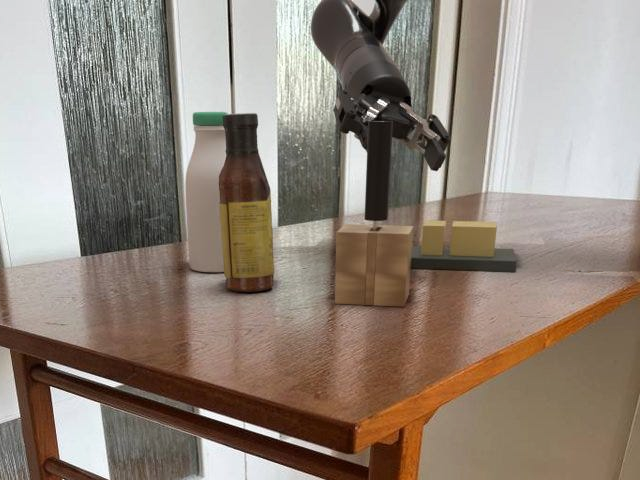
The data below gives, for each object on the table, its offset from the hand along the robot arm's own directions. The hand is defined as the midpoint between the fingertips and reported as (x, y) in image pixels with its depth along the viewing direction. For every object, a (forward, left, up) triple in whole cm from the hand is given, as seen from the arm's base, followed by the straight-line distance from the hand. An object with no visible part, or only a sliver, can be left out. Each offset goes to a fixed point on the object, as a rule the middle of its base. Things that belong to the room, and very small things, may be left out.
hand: (407, 156), depth 88 cm
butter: (-7, -17, -15) cm, 24 cm away
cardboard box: (+2, +8, -15) cm, 17 cm away
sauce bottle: (+18, +5, -15) cm, 24 cm away
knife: (+2, +8, -15) cm, 17 cm away
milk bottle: (+26, -7, -15) cm, 31 cm away
